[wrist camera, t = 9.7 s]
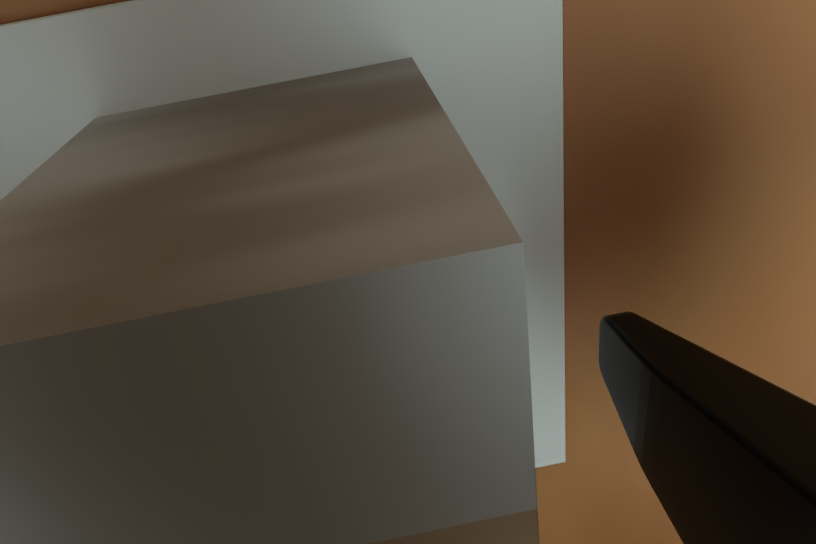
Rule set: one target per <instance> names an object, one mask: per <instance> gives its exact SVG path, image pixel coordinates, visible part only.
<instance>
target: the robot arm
mask: <svg viewBox="0 0 816 544" xmlns="http://www.w3.org/2000/svg"><path fill="white" fill-rule="evenodd" d="M599 366H600V370H601V374H602V376H603V379H604V381H605V383H606V386H607V388H608V391H609V393H610V395H611V398H612V400H613V402H614V405H615V407H616V410H617V412H618V414H619V417H620V419H621V421H622V424H623V426H624V429H625V431H626V433H627V436H628V438H629V440H630V443H631V445H632V448H633V450H634V452H635V454H636V457H637V459H638V461H639V463H640V466H641V468H642V470H643V471H644V473H645V475H646V477H647V479H648V481H649V483H650V485H651V486H652V488H653V490H654V492H655V493H656V495H657V497H658V499H659V501H660V502H661V504H662V506H663V508H664V510H665V511H666V513H667V515H668V517H669V518H670V520H671V522H672V524H673V526H674V527H675V529H676V531H677V533H678V534H679V536H680V538H681V540H682V542H683V543H684V544H816V405H814V404H812V403H810V402H808V401H806V400H804V399H802V398H800V397H798V396H796V395H794V394H792V393H790V392H788V391H786V390H784V389H782V388H780V387H778V386H776V385H774V384H772V383H770V382H768V381H767V380H765V379H763V378H761V377H759V376H757V375H755V374H753V373H751V372H749V371H747V370H745V369H743V368H741V367H739V366H737V365H735V364H733V363H731V362H729V361H727V360H725V359H723V358H721V357H719V356H717V355H715V354H713V353H711V352H710V351H708V350H706V349H704V348H702V347H700V346H698V345H696V344H694V343H692V342H690V341H688V340H686V339H684V338H682V337H680V336H678V335H676V334H674V333H672V332H670V331H668V330H666V329H664V328H662V327H660V326H658V325H656V324H655V323H653V322H651V321H649V320H647V319H645V318H643V317H641V316H639V315H637V314H635V313H632V312H622V313H617V314H612V315H607V316H605V317H603V318H602V319H601V322H600V333H599Z"/></svg>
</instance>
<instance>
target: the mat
mask: <svg viewBox="0 0 816 544" xmlns="http://www.w3.org/2000/svg"><path fill="white" fill-rule="evenodd" d="M409 57H412V58H413V60H414V62H415V63H416V65H417V67H418V68H419V70H420V72H421V73H422V75H423V77H424V78H425V80H426V81H427V83H428V85H429V86H430V88H431V90H432V91H433V93H434V95H435V96H436V98H437V100H438V101H439V103H440V105H441V106H442V108H443V110H444V111H445V113H446V115H447V116H448V118H449V120H450V121H451V123H452V125H453V126H454V128H455V129H456V131H457V133H458V134H459V136H460V138H461V139H462V141H463V143H464V144H465V146H466V148H467V149H468V151H469V153H470V154H471V156H472V158H473V159H474V161H475V163H476V164H477V166H478V168H479V169H480V171H481V173H482V174H483V176H484V178H485V179H486V181H487V182H488V184H489V186H490V187H491V189H492V191H493V192H494V194H495V196H496V197H497V199H498V201H499V202H500V204H501V206H502V207H503V209H504V211H505V212H506V214H507V216H508V217H509V219H510V221H511V222H512V224H513V226H514V227H515V229H516V231H517V232H518V234H519V235H520V237H521V239H522V240H523V242H524V262H525V281H526V300H527V319H528V339H529V358H530V377H531V396H532V415H533V435H534V454H535V468H538V467H543V466H548V465H553V464H558V463H562V462H565V318H564V161H563V4H562V0H130V1H124V2H119V3H114V4H108V5H103V6H98V7H92V8H87V9H82V10H76V11H71V12H66V13H60V14H55V15H50V16H44V17H39V18H34V19H28V20H23V21H18V22H12V23H7V24H2V25H0V200H2V199H3V198H4V197H5V196H6V195H7V194H8V193H10V192H11V191H12V190H13V189H14V188H15V187H16V186H18V185H19V184H20V183H21V182H22V181H23V180H25V179H26V178H27V177H28V176H29V175H30V174H31V173H33V172H34V171H35V170H36V169H37V168H38V167H39V166H41V165H42V164H43V163H44V162H45V161H46V160H47V159H49V158H50V157H51V156H52V155H53V154H54V153H55V152H57V151H58V150H59V149H60V148H61V147H62V146H63V145H65V144H66V143H67V142H68V141H69V140H70V139H72V138H73V137H74V136H75V135H76V134H77V133H78V132H80V131H81V130H82V129H83V128H84V127H85V126H86V125H88V124H89V123H90V122H91V121H92V120H93V119H94V118H97V117H102V116H107V115H112V114H117V113H123V112H128V111H133V110H138V109H144V108H149V107H154V106H159V105H164V104H170V103H175V102H180V101H185V100H190V99H196V98H201V97H206V96H211V95H217V94H222V93H227V92H232V91H237V90H243V89H248V88H253V87H258V86H263V85H269V84H274V83H279V82H284V81H290V80H295V79H300V78H305V77H310V76H316V75H321V74H326V73H331V72H336V71H342V70H347V69H352V68H357V67H363V66H368V65H373V64H378V63H383V62H389V61H394V60H399V59H404V58H409Z"/></svg>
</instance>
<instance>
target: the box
mask: <svg viewBox="0 0 816 544" xmlns="http://www.w3.org/2000/svg"><path fill="white" fill-rule="evenodd" d="M0 544H539V531H538V512H537V492H536V473H535V454H534V435H533V415H532V396H531V377H530V358H529V339H528V319H527V300H526V281H525V262H524V242H523V240H522V239H521V237H520V235H519V234H518V232H517V231H516V229H515V227H514V226H513V224H512V222H511V221H510V219H509V217H508V216H507V214H506V212H505V211H504V209H503V207H502V206H501V204H500V202H499V201H498V199H497V197H496V196H495V194H494V192H493V191H492V189H491V187H490V186H489V184H488V182H487V181H486V179H485V178H484V176H483V174H482V173H481V171H480V169H479V168H478V166H477V164H476V163H475V161H474V159H473V158H472V156H471V154H470V153H469V151H468V149H467V148H466V146H465V144H464V143H463V141H462V139H461V138H460V136H459V134H458V133H457V131H456V129H455V128H454V126H453V125H452V123H451V121H450V120H449V118H448V116H447V115H446V113H445V111H444V110H443V108H442V106H441V105H440V103H439V101H438V100H437V98H436V96H435V95H434V93H433V91H432V90H431V88H430V86H429V85H428V83H427V81H426V80H425V78H424V77H423V75H422V73H421V72H420V70H419V68H418V67H417V65H416V63H415V62H414V60H413V58H412V57H409V58H404V59H399V60H394V61H389V62H383V63H378V64H373V65H368V66H363V67H357V68H352V69H347V70H342V71H336V72H331V73H326V74H321V75H316V76H310V77H305V78H300V79H295V80H290V81H284V82H279V83H274V84H269V85H263V86H258V87H253V88H248V89H243V90H237V91H232V92H227V93H222V94H217V95H211V96H206V97H201V98H196V99H190V100H185V101H180V102H175V103H170V104H164V105H159V106H154V107H149V108H144V109H138V110H133V111H128V112H123V113H117V114H112V115H107V116H102V117H97V118H94V119H93V120H92V121H91V122H90V123H89V124H88V125H86V126H85V127H84V128H83V129H82V130H81V131H80V132H78V133H77V134H76V135H75V136H74V137H73V138H72V139H70V140H69V141H68V142H67V143H66V144H65V145H63V146H62V147H61V148H60V149H59V150H58V151H57V152H55V153H54V154H53V155H52V156H51V157H50V158H49V159H47V160H46V161H45V162H44V163H43V164H42V165H41V166H39V167H38V168H37V169H36V170H35V171H34V172H33V173H31V174H30V175H29V176H28V177H27V178H26V179H25V180H23V181H22V182H21V183H20V184H19V185H18V186H16V187H15V188H14V189H13V190H12V191H11V192H10V193H8V194H7V195H6V196H5V197H4V198H3V199H2V200H0Z"/></svg>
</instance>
